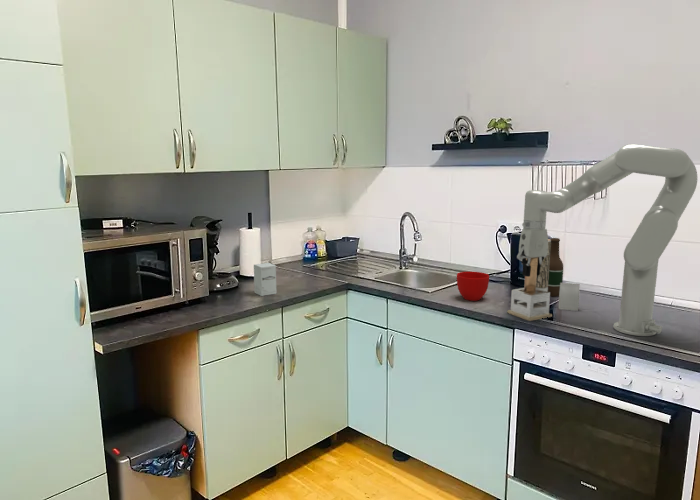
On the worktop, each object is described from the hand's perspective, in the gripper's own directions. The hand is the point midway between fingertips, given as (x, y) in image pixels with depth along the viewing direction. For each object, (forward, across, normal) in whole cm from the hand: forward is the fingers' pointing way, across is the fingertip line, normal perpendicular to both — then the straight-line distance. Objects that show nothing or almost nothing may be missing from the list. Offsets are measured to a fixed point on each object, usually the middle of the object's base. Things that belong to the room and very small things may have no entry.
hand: (531, 274), depth 188 cm
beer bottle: (+15, +30, +17) cm, 38 cm away
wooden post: (+8, 0, 0) cm, 8 cm away
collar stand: (+15, 0, 0) cm, 15 cm away
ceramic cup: (+16, -2, +28) cm, 32 cm away
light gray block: (+15, +19, -1) cm, 25 cm away
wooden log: (+15, +18, +13) cm, 27 cm away
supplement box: (+16, -77, +75) cm, 108 cm away
